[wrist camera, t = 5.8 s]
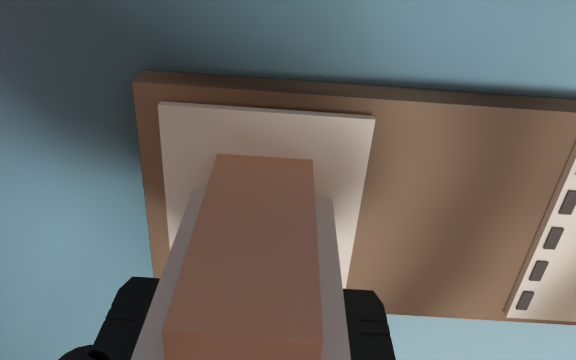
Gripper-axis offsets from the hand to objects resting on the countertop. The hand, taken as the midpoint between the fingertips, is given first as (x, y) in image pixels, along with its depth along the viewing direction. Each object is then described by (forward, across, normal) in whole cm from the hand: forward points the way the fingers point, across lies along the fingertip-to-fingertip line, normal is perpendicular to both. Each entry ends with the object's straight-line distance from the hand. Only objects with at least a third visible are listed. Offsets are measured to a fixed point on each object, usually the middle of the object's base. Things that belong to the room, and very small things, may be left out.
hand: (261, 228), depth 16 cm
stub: (+1, 0, 0) cm, 1 cm away
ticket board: (+2, -6, 0) cm, 7 cm away
